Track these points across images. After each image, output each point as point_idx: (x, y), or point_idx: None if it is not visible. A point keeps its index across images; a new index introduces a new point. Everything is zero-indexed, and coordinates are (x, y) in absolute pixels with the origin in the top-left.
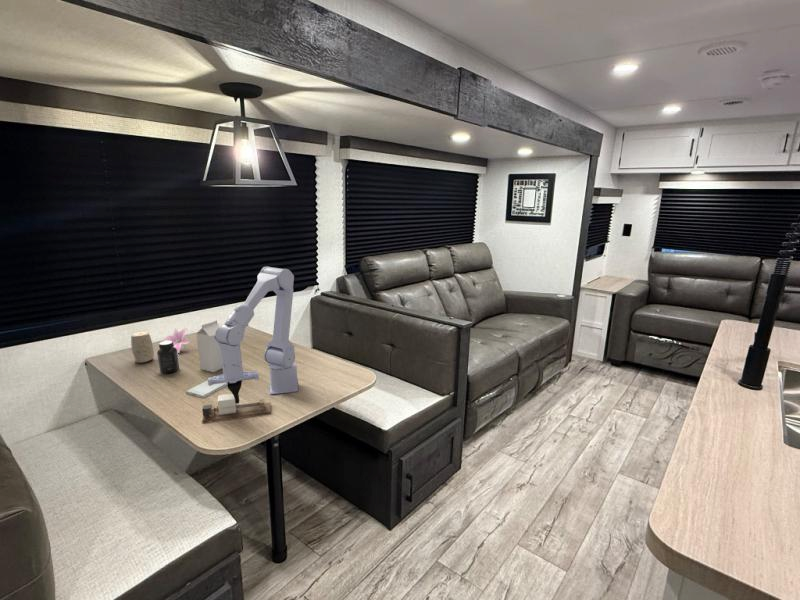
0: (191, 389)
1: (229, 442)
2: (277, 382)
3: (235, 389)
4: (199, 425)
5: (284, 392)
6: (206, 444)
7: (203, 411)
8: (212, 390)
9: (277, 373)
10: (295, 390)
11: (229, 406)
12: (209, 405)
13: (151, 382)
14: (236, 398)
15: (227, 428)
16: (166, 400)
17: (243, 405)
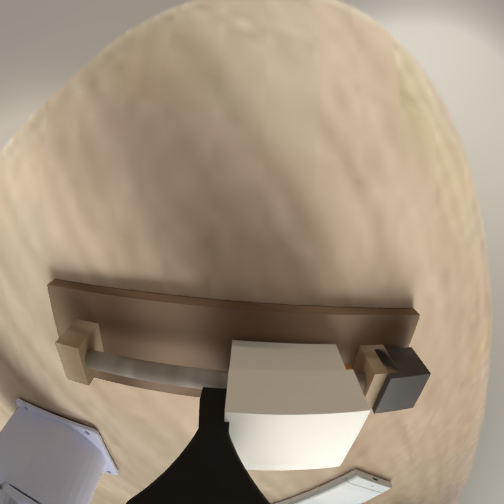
0: (376, 494)
1: (281, 25)
2: (55, 457)
3: (198, 494)
4: (428, 286)
5: (50, 414)
6: (403, 65)
7: (420, 364)
8: (320, 494)
9: (37, 486)
10: (19, 402)
11: (274, 371)
12: (387, 405)
13: (428, 497)
14: (211, 417)
15: (293, 190)
16: (443, 453)
17: (179, 374)
